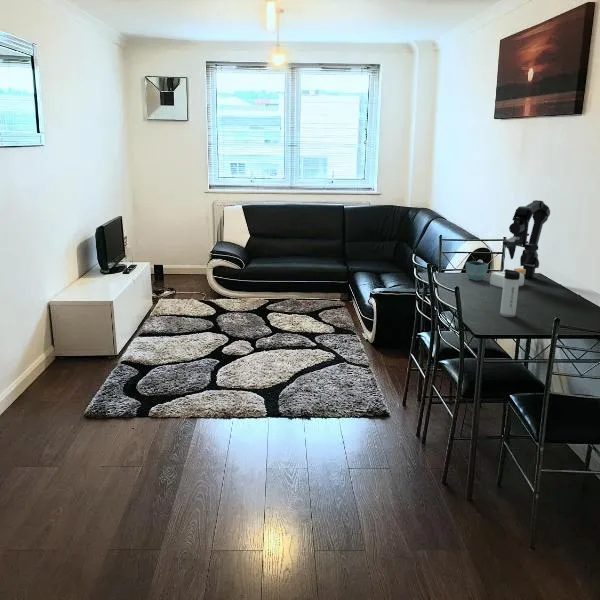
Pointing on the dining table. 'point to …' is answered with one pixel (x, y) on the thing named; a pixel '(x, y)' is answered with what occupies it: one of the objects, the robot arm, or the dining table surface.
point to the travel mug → (510, 293)
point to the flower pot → (476, 270)
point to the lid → (520, 270)
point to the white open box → (500, 281)
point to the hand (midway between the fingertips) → (518, 260)
